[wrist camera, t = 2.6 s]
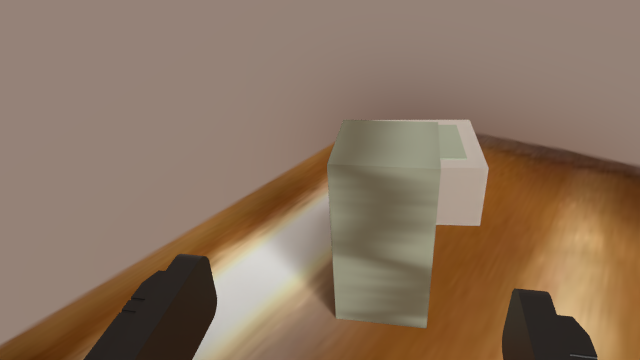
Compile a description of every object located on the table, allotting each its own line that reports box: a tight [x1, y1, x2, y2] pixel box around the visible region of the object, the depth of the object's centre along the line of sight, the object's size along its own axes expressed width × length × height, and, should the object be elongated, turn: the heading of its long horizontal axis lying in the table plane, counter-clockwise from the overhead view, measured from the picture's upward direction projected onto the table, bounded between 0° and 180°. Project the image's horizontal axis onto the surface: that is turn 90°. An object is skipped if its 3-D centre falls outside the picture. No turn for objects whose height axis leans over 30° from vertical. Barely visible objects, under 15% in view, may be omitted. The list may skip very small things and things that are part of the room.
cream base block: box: [372, 120, 489, 226], centre depth 35 cm, size 8×8×5 cm
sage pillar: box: [327, 120, 441, 328], centre depth 24 cm, size 5×5×10 cm
